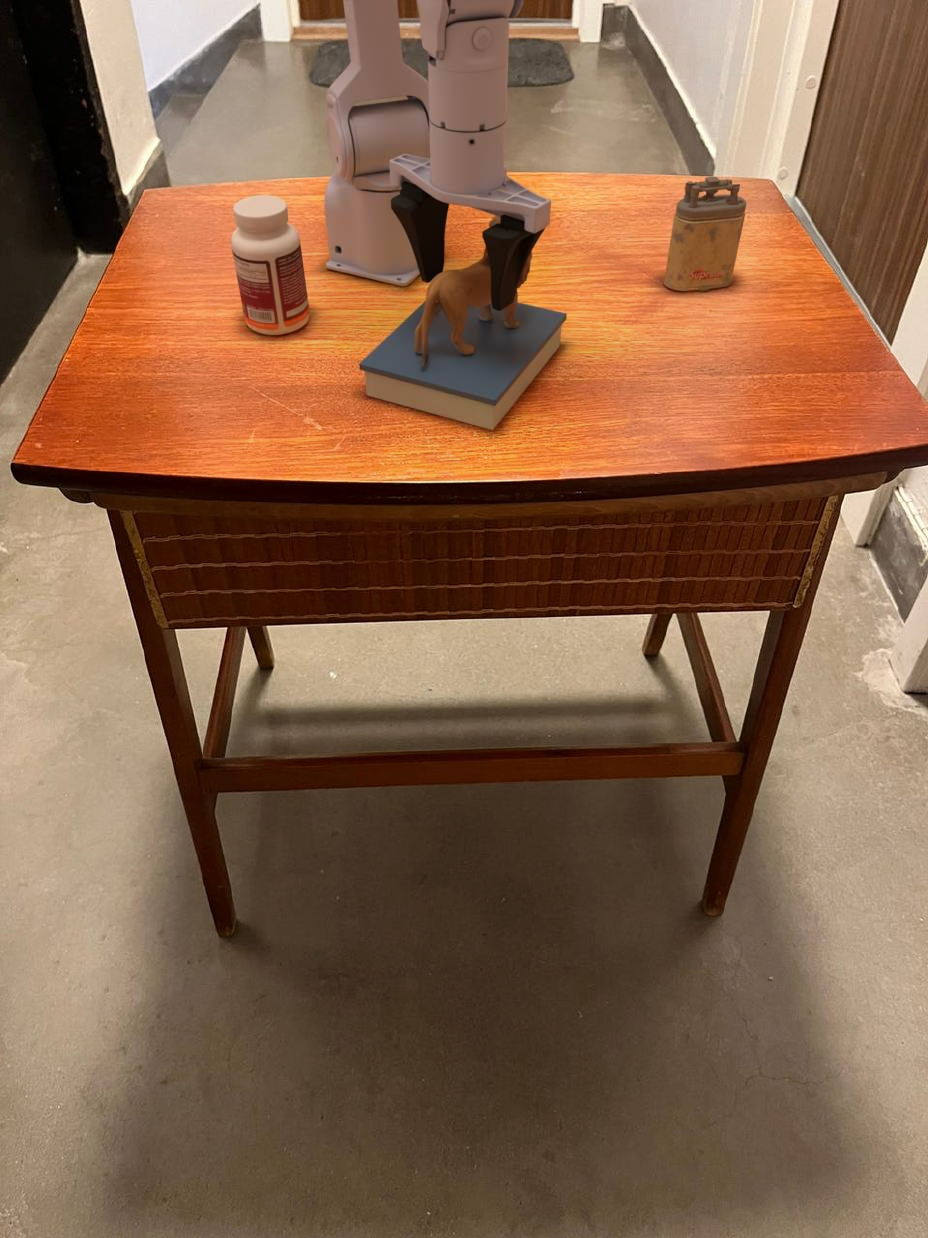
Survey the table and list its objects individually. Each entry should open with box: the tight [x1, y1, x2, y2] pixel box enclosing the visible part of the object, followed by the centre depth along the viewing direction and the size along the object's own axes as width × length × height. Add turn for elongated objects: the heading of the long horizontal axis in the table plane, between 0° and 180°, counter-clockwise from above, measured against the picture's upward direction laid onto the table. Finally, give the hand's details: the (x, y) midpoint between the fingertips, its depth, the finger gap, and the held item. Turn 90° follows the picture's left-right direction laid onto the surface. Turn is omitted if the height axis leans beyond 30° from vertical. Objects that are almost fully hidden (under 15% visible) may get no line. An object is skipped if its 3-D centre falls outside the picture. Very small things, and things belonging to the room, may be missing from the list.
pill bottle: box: [230, 194, 311, 336], centre depth 90 cm, size 6×6×11 cm
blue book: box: [358, 301, 568, 431], centre depth 86 cm, size 13×16×3 cm
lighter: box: [662, 176, 747, 292], centre depth 96 cm, size 7×4×10 cm, turn 102°
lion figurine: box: [414, 215, 533, 365], centre depth 82 cm, size 15×5×9 cm, turn 145°
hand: (466, 291), depth 82 cm, fingers open, 7 cm apart
